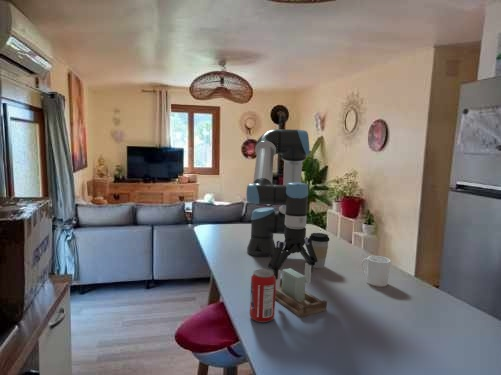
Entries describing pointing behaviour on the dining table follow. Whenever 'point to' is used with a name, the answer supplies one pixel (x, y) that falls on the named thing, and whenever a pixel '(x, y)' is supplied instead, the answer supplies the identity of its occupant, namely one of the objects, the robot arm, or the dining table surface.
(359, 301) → the dining table surface
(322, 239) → the coffee cup
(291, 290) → the pale green block
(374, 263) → the mug
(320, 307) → the wooden tray
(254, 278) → the soda can
